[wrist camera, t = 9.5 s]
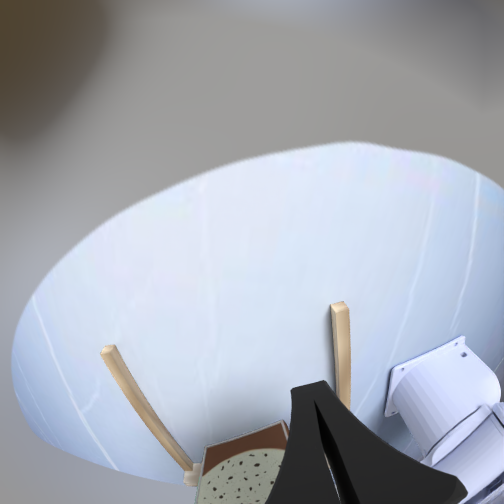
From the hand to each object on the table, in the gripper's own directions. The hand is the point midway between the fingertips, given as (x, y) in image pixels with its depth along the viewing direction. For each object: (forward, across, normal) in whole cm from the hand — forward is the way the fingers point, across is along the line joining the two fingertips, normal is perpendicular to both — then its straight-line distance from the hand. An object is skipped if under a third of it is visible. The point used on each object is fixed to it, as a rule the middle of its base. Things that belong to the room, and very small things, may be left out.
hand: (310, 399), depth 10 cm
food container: (+10, +5, +18) cm, 21 cm away
